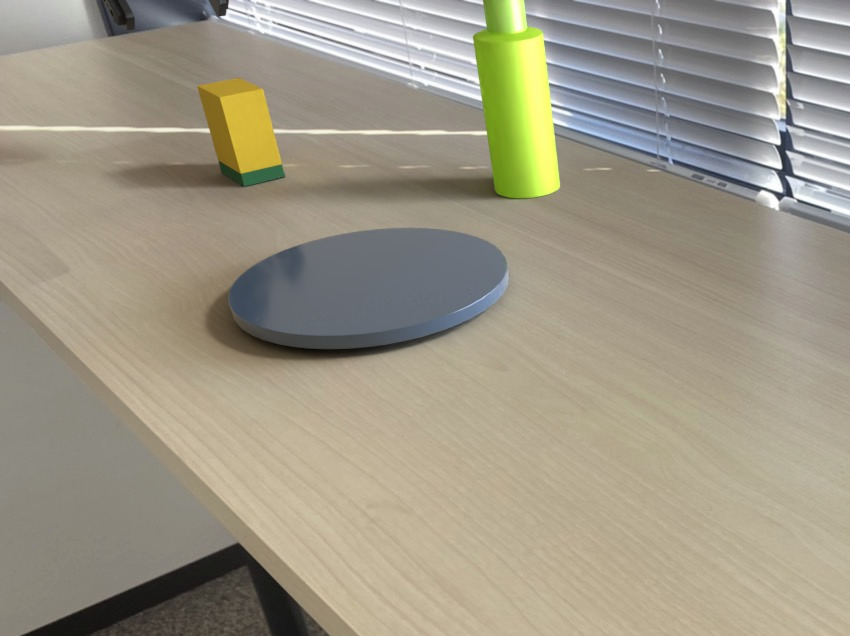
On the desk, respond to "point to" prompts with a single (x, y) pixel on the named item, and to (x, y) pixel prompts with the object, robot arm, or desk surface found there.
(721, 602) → the desk surface
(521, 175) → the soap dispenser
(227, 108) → the sponge
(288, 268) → the plate
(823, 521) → the desk surface
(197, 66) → the desk surface
